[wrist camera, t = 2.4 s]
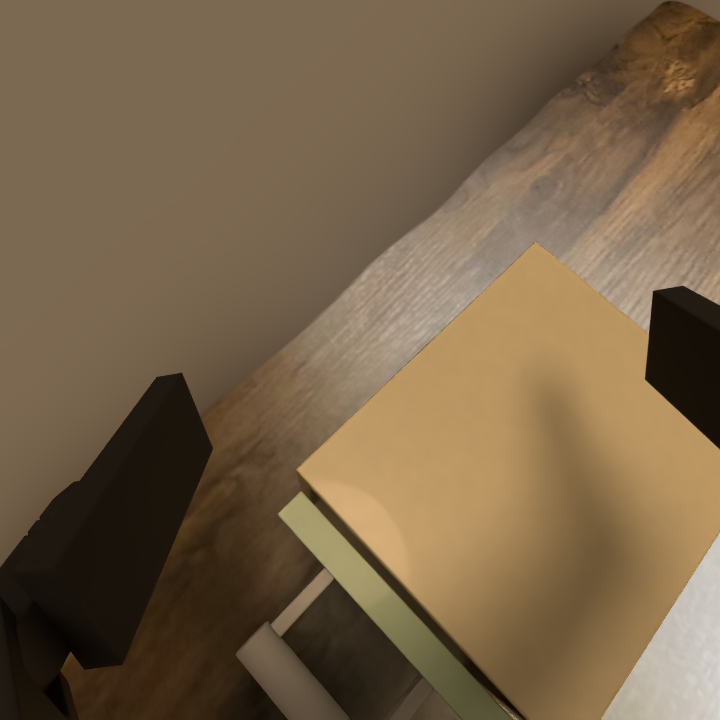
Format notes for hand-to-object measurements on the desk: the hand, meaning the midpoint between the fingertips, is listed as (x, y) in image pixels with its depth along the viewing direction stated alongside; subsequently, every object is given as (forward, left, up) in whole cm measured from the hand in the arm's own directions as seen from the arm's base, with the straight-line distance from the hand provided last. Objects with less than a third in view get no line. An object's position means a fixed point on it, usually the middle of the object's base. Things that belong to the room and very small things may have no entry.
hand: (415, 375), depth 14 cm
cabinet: (+5, +3, -16) cm, 17 cm away
